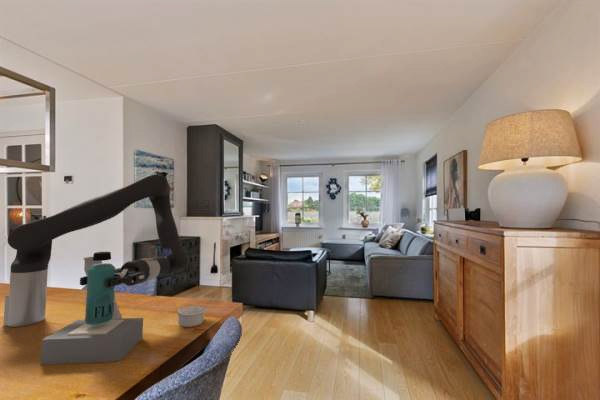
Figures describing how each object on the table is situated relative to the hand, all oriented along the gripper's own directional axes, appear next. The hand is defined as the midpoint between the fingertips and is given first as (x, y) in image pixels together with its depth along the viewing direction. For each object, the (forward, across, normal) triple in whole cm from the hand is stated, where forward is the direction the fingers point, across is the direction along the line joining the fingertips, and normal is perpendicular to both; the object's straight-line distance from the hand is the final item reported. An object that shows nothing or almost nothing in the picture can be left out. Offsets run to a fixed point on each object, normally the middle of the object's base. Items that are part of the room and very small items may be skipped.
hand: (93, 282), depth 75 cm
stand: (-2, 0, +18) cm, 19 cm away
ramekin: (-26, +13, +19) cm, 34 cm away
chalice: (-36, -42, +19) cm, 58 cm away
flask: (-20, -16, +19) cm, 32 cm away
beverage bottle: (-2, 0, +12) cm, 12 cm away
